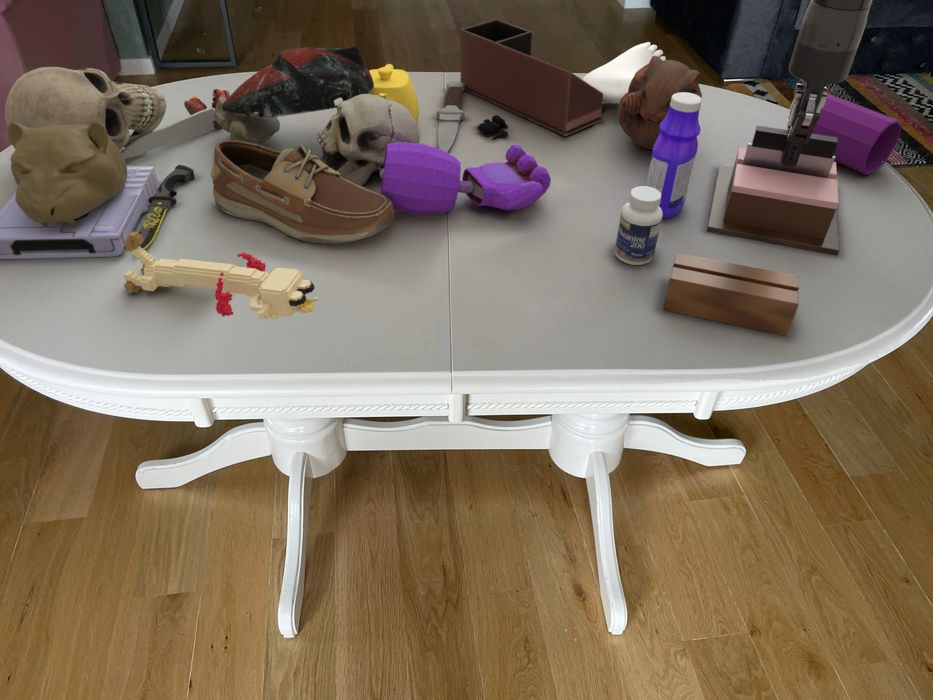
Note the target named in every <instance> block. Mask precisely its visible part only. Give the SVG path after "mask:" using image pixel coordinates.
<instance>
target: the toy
mask: <svg viewBox="0 0 933 700" xmlns="http://www.w3.org/2000/svg"><path fill="white" fill-rule="evenodd" d="M505 160H506V162H490V163H484V164H483V165H480V166H477V167H476V166H475V167H467V168H465V169H464V171H463V173H462V179H461V169H462V166H461V161H460V160H459V159H457V158H456V157H455V156H454V155H452V154H450V153H448V152H445V151H442V150H440V149H439V147H438V148H437V147H436V146H432V145H428V144H426V143H425V144H424V143H419V144H416V143H391V144H387V147H386V153H385V160H384V167H383V169H382V170H381V171H379V177H380V179H381V184H380V190H379V193H382V194H384V195H386V196H387V197H388V198H389V199H390V201H391V203H392V204H393V209H394V211H398V212H403V213H406V214H411V215H417V216H430V215H433V216H434V215H440V214H445V213H446V214H447V213H448V212H450V211H452V210H454V208H455V205H456V203H457V199H458V194H459V193H461V194H465V196H467V198H468V200H470V201H471V202H472V203H474V204H475V205H476V206H478V207H479V206H481V207H482V206H484V207H485V206H486V207H493V208H496V209H500V210H504V211H508V212H509V211H517V210H522V209H525V208H527V207H529V206H531V204H533V203H535V202H537V201H538V200H539V199H540V198H542V196H544V195H545V194H546V193H547V191H548V189H549V188H550V186H551V180H552V178H551V176H550V173H549V171H548V169H547V168H546V167H545V166H544V167H543V166H540V165H539V164H538V162H537V160H536V158H535V157H534V156H533V155H529V154H527V153H526V151H525V150H524V149H523V147H522V146H521V145H519V144H511V146H510V147H509V148H507V151H506V153H505Z"/></svg>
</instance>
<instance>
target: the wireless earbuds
mask: <svg viewBox="0 0 933 700" xmlns="http://www.w3.org/2000/svg"><path fill="white" fill-rule="evenodd" d="M476 129H477V130H478V131H479V132H480V133H482V134H483V136H486V137H489V136H491V140H496V139H499V138H503V137H504V138H506V137H509V133H508V131H506V130H508V129H509V125H508V124H507V123H506V120H505V119H504V118H503V117H501V116H500V115H498V114H494V115H493V116H492V117H491V119H489V118H486V119H484V120H483V122H482V123H480V124H479V125H477V126H476ZM501 130H502V132H500V131H501ZM500 133H501V134H500Z"/></svg>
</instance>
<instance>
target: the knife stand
mask: <svg viewBox="0 0 933 700" xmlns="http://www.w3.org/2000/svg"><path fill="white" fill-rule="evenodd" d="M799 289H800V276H799V275H795V274H790V273H784V272H779V271H775V270H769V269H764V268H758V267H755V266H754V267H753V266H749V265H744V264H738V263H734V262H729V261H728V262H727V261H722V260H718V259H713V258H709V257H708V258H707V257H702V256H698V255H697V256H696V255H692V254H686V253H682V252H676V253H675V257H674V260H673V265H672V268H671V273H670V277H669V280H668V285H667V290H666V293H665V298H664V302H663V307H662V311H665V312H671V313H675V314H679V315H685V316H688V317H694V318H698V319H703V320H709V321H713V322H716V323H717V322H718V323H722V324H726V325H732V326H737V327H741V328H746V329H750V330H755V331H759V332H764V333H769V334H774V335H779V336H783V337H787V335H788V333H789V330H790V328H791V325H792V323H793V320H794V318H795V315H796V313H797V311H798V307H799V305H800V291H799Z"/></svg>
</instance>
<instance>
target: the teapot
mask: <svg viewBox="0 0 933 700" xmlns="http://www.w3.org/2000/svg"><path fill="white" fill-rule="evenodd" d="M368 70H369V69H368ZM369 71H370V74H371V76H372V79H373V83H374V88H373V89H372V90H371V91H370V92H369V94H373V95H378V96H380V97H383V98H387V99H391V100H394V101H396V102H399V103H401V104H403V105H404V106H405V107H406V108H408V109H409V111H410V112H411V114H412V115H413V117H414V119H415V122H416V123H417V122H418V120H419V117H420V106H419V105H420V104H419V99H418V95H417V92H416V90H415V87H414V85H413V82H412V79H411V78H410V75H409V73H408V72H407V71H406V70H404V69H397V68H396V69H395V68H394V66H393V64H391V63H386V64H385V66H382V67H379V68H377V69H376V68H375V69H374V68H373V69H370V70H369Z"/></svg>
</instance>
